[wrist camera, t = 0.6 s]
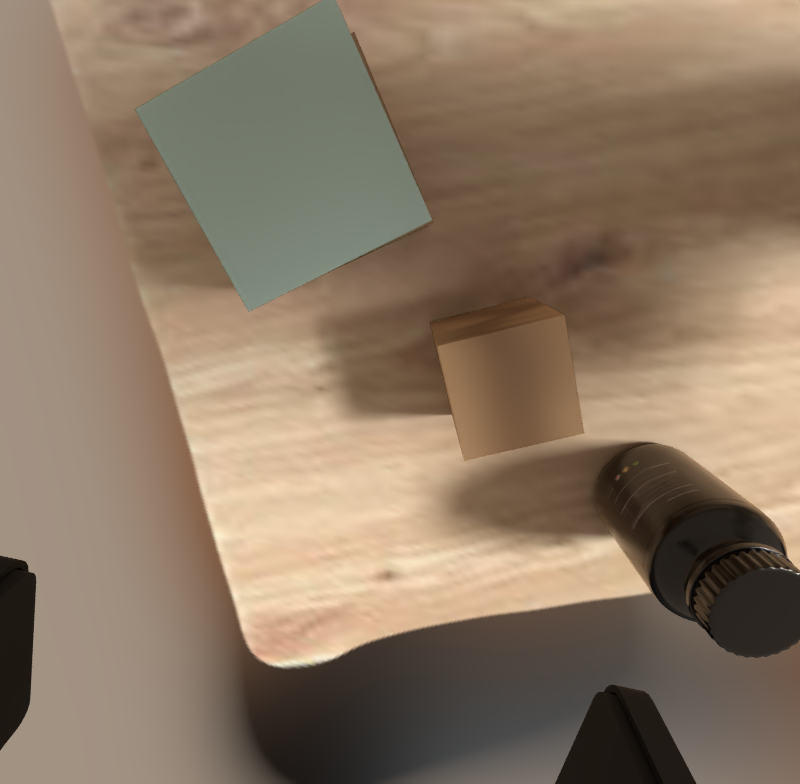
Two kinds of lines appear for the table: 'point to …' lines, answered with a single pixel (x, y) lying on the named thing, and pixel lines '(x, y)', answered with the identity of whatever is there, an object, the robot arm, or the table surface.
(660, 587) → the supplement bottle
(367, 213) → the tower top slab
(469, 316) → the walnut block
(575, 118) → the table surface
